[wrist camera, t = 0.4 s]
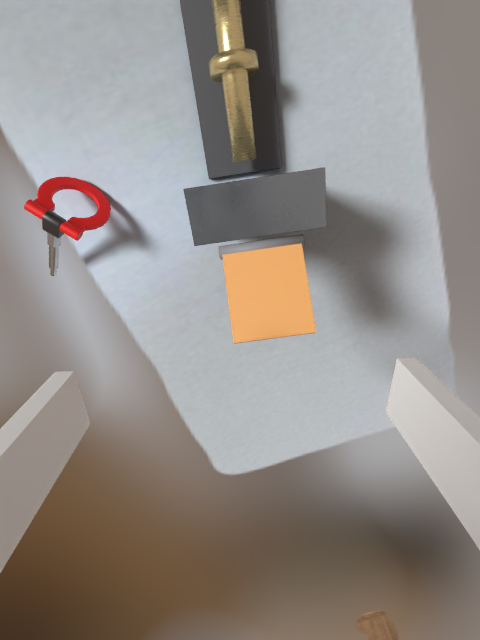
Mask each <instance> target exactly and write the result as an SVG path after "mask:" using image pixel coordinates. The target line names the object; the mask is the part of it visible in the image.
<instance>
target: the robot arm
mask: <svg viewBox="0 0 480 640" xmlns="http://www.w3.org/2000/svg"><path fill="white" fill-rule="evenodd" d="M386 413H387V414H388V416H389V417H390V419H391V420H392V422H393V423H394V425H395V426H396V428H397V429H398V430H399V432H400V433H401V435H402V436H403V438H404V439H405V441H406V442H407V444H408V445H409V446H410V448H411V450H412V451H413V452H414V454H415V455H416V457H417V458H418V460H419V461H420V463H421V464H422V466H423V467H424V468H425V470H426V472H427V473H428V474H429V476H430V477H431V479H432V480H433V482H434V483H435V485H436V486H437V488H438V489H439V491H440V492H441V493H442V495H443V496H444V498H445V499H446V501H447V502H448V504H449V505H450V507H451V508H452V510H453V511H454V513H455V514H456V515H457V517H458V518H459V520H460V521H461V523H462V524H463V526H464V527H465V529H466V530H467V532H468V533H469V534H470V536H471V538H472V539H473V540H474V542H475V543H476V545H477V546H478V548H479V549H480V417H479V416H478V415H476V413H474V412H473V411H472V410H471V409H470V408H469V407H468V406H467V405H466V404H465V403H464V402H463V401H462V400H461V399H459V398H458V397H457V396H456V395H455V394H454V393H453V392H452V391H451V390H450V389H449V388H448V387H447V386H445V385H444V384H443V383H442V382H441V381H440V380H439V379H438V378H437V377H436V376H435V375H434V374H433V373H432V372H430V371H429V370H428V369H427V368H426V367H425V366H424V365H423V364H422V363H421V362H420V361H419V360H418V359H416V358H398V359H397V361H396V366H395V371H394V375H393V380H392V385H391V390H390V394H389V399H388V404H387V408H386ZM89 425H90V421H89V418H88V415H87V412H86V408H85V405H84V402H83V398H82V396H81V392H80V389H79V385H78V382H77V379H76V376H75V372H74V371H66V372H55V373H54V374H53V375H52V376H51V377H50V378H49V379H48V380H47V381H46V382H45V383H44V384H43V385H42V386H41V387H40V388H39V389H38V391H36V392H35V393H34V395H32V397H31V398H30V399H29V400H28V401H27V402H26V403H25V404H24V405H23V406H22V407H21V408H20V409H19V410H18V411H17V412H16V413H15V414H14V415H13V416H12V417H11V418H10V419H9V420H8V421H7V423H6V424H5V425H4V426H3V427H2V428H1V429H0V573H1V571H2V569H3V568H4V566H5V564H6V563H7V561H8V559H9V557H10V556H11V554H12V552H13V551H14V549H15V548H16V546H17V544H18V543H19V541H20V539H21V538H22V536H23V534H24V533H25V531H26V529H27V528H28V526H29V524H30V523H31V521H32V519H33V518H34V516H35V514H36V513H37V511H38V510H39V508H40V506H41V505H42V503H43V501H44V500H45V498H46V496H47V495H48V493H49V491H50V490H51V488H52V486H53V485H54V483H55V481H56V480H57V478H58V476H59V475H60V473H61V471H62V470H63V468H64V466H65V465H66V463H67V461H68V460H69V458H70V456H71V455H72V453H73V451H74V450H75V448H76V447H77V445H78V443H79V442H80V440H81V438H82V437H83V435H84V433H85V432H86V430H87V428H88V427H89Z"/></svg>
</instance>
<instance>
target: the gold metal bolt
mask: <svg viewBox="0 0 480 640" xmlns="http://www.w3.org/2000/svg"><path fill="white" fill-rule="evenodd" d="M211 1H212V8H213V16H214V24H215V31H216V39H217V46H218V54H216V55H215V56H213V57H212V58H211V59H210V60H209V71H210V78H211V79H212V80H213V81H215V82H220V83H222V84H223V92H224V99H225V107H226V115H227V122H228V130H229V137H230V145H231V153H232V160H233V162H234V163H235V162H244V161H250V160H254V159H257V157H256V147H255V138H254V128H253V118H252V108H251V99H250V89H249V79H248V78H249V77H251V76H253V75H255V74H256V73H257V72H258V70H259V66H258V55H257V52H256V51H254V50H252V49H247V48H245V41H244V31H243V21H242V11H241V2H240V0H211Z"/></svg>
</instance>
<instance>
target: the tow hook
mask: <svg viewBox="0 0 480 640" xmlns="http://www.w3.org/2000/svg"><path fill="white" fill-rule="evenodd" d="M63 189H74V190H78V191H81V192H83V193H86V194H87V195H89V196H90V197H91V198H92V199H93V200H94V201H95V202H96V204H97V206H98V211H97V213H96V214H95V215H94V216H91V217H88V218H76V217H71V218H70V219H69V220H68V221H67V222H66V220H65V219H63V218H62V217H60V216H59V215H57V214H55V213H54V212H52V211H53V210H54V209H55V204H54V203H53V201H52V196H53V195H54V194H55V193H56V192H57V191H59V190H63ZM24 208H25V209H26V210H27V211H29V212H30V213H32V214H34V215H35V216H37V217H39V218H40V219H42V225H43V230H45V231H47V232H48V245H49V268H50V270H51V271H50V274H51V276H55V275H56V269H57V268H58V257H59V246H60V242H61V236H62V235H63V234H64V233H65V234H67V235H68V236H70V237H72V238H73V239H75V240H77V241H78V240H79V239H80V238H81V236H82V234H83V232H84V231H85V230H93V229H97V228H99V227H101V226H103V225H104V224H105V223H106V222H107V221H108V219H109V217H110V210H111V207H110V204H109V201H108V200H107V198H106V196H105V195H104V194H103V193H102V192H101V191H100V190H99V189H97V188H96V187H95V186H93V185H91V184H89V183H87V182H85V181H83V180H79V179H76V178H70V177H56V178H52V179H49V180H47V181H45V182H44V183H43V184H42V185H41V186H40V187H39V190H38V198H37V199H36V200H34V201H32V200H28V201H27V202H26V204H25V206H24Z"/></svg>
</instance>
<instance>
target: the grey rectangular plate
mask: <svg viewBox="0 0 480 640" xmlns="http://www.w3.org/2000/svg"><path fill="white" fill-rule="evenodd" d="M184 194H185V199H186V204H187V209H188V214H189V220H190V225H191V230H192V235H193V240H194V245H195V246H198V245H205V244H212V243H219V242H226V241H233V240H239V239H246V238H253V237H260V236H267V235H274V234H281V233H288V232H294V231H301V230H308V229H315V228H322V227H326V185H325V168H318V169H312V170H305V171H298V172H292V173H285V174H279V175H272V176H266V177H259V178H253V179H246V180H240V181H233V182H226V183H220V184H213V185H207V186H200V187H194V188H187V189H184Z"/></svg>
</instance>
